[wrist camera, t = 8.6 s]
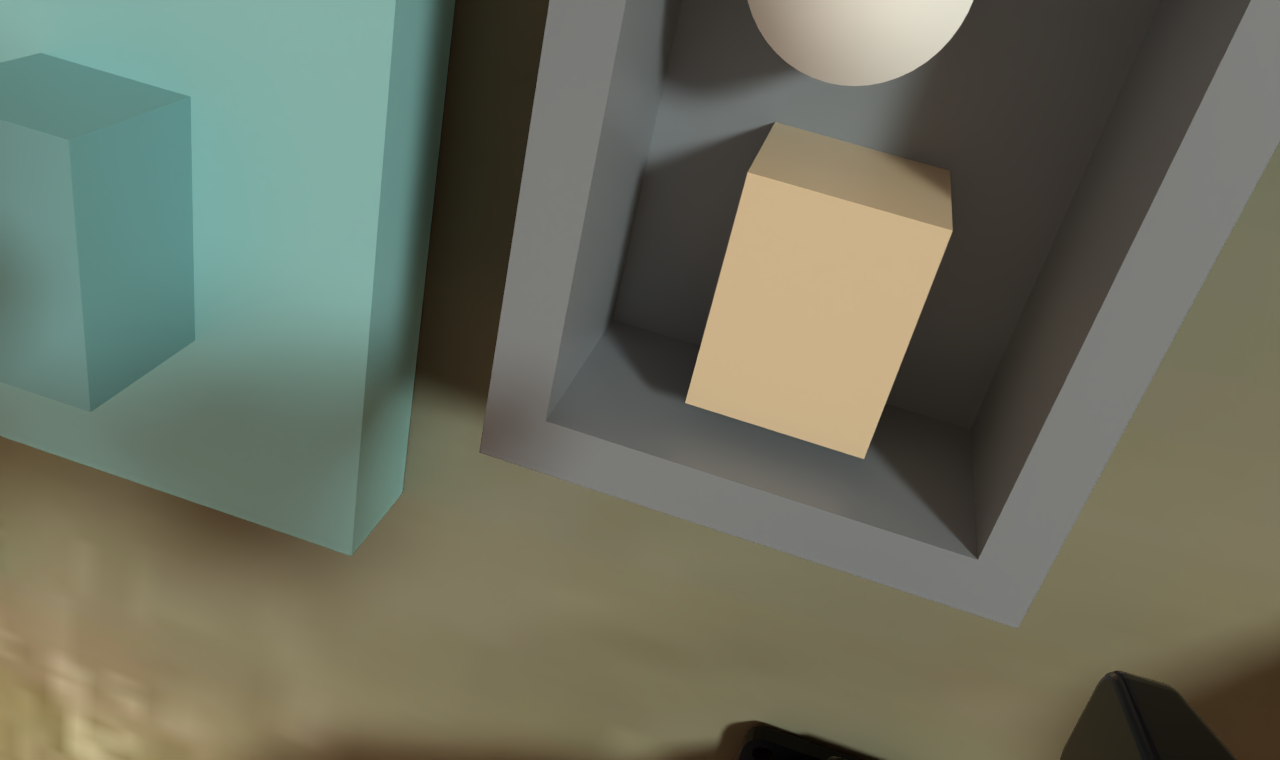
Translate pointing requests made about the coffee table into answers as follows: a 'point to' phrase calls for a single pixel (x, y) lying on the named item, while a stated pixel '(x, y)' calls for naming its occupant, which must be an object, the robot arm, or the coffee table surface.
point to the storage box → (870, 263)
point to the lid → (221, 245)
